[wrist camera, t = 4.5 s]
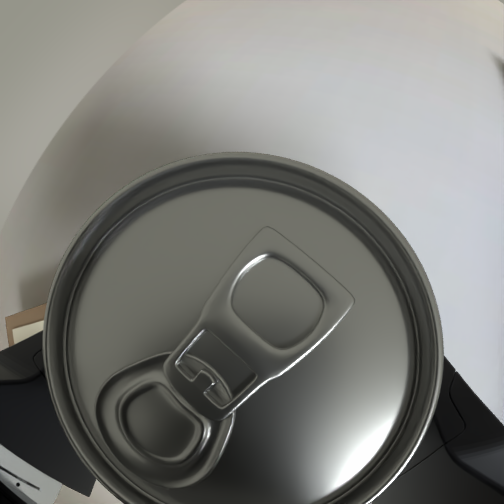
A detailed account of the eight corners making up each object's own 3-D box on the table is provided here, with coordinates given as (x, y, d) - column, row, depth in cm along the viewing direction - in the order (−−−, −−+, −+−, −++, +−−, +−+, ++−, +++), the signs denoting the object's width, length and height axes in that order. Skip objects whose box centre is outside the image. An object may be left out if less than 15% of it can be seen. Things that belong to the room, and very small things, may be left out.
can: (189, 334, 15) (-10, 344, 4) (269, 243, 16) (208, 68, 4) (279, 415, 14) (237, 597, 2) (363, 323, 14) (534, 324, 3)
